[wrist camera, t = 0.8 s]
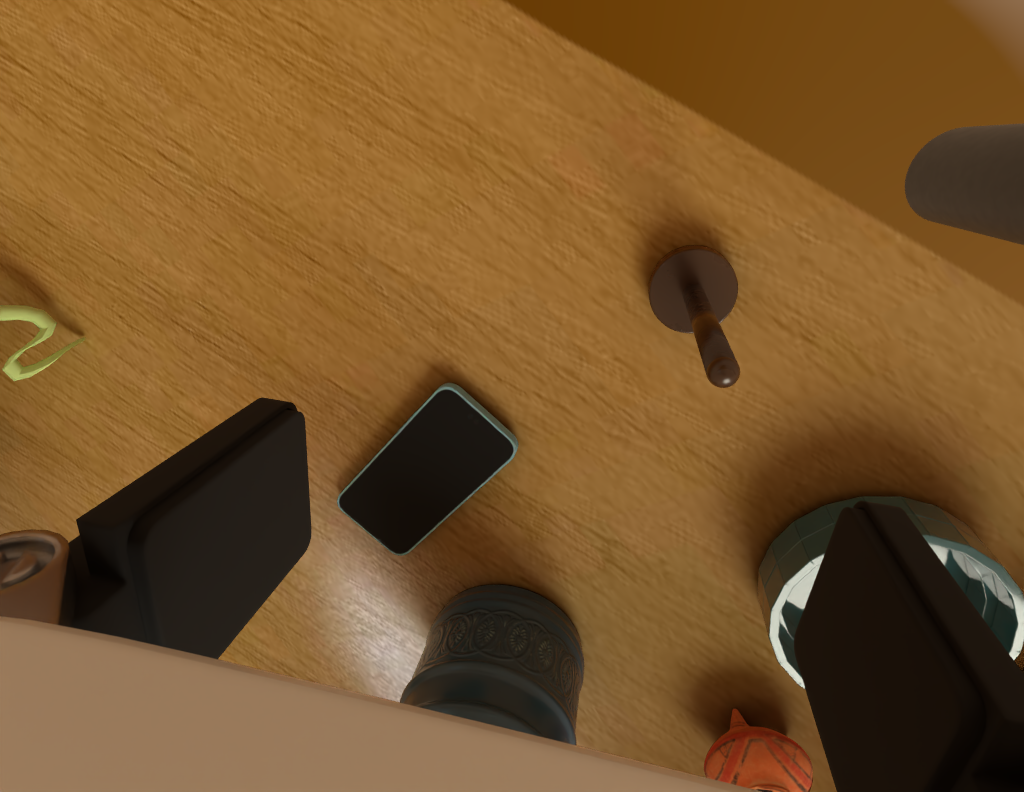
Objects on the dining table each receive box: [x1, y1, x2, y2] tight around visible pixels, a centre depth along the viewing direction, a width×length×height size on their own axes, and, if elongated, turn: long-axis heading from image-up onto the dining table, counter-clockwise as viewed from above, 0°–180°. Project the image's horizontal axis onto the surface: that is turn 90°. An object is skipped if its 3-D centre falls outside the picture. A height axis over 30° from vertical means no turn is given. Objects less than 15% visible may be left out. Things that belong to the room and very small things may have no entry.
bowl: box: [757, 496, 1024, 689], centre depth 39 cm, size 14×14×5 cm
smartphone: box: [337, 383, 518, 556], centre depth 44 cm, size 7×1×15 cm
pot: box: [704, 709, 813, 792], centre depth 46 cm, size 8×8×7 cm
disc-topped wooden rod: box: [649, 245, 740, 388], centre depth 29 cm, size 5×5×16 cm
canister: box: [400, 585, 584, 745], centre depth 42 cm, size 13×13×18 cm
